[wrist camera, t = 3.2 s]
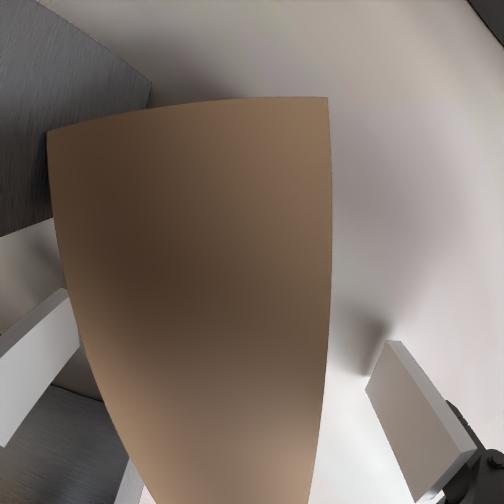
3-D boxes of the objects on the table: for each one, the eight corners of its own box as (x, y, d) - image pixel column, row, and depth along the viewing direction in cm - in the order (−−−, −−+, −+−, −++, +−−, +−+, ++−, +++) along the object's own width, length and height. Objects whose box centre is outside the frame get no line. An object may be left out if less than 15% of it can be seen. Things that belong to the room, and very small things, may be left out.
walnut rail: (286, 132, 10) (327, 96, 5) (288, 456, 15) (298, 546, 9) (145, 143, 10) (46, 132, 5) (198, 458, 15) (186, 546, 9)
